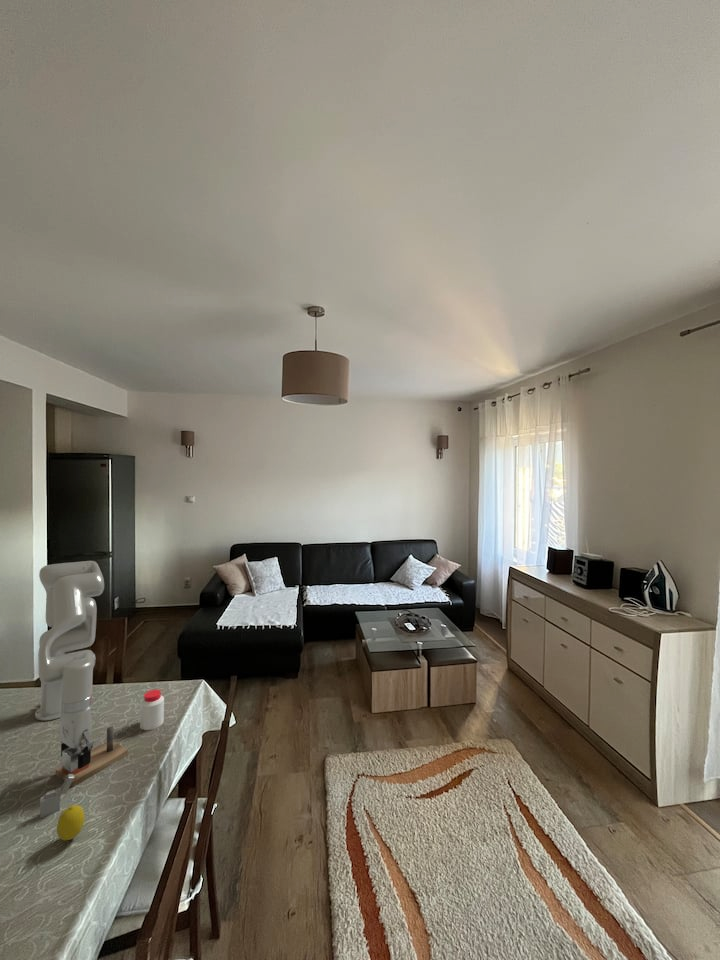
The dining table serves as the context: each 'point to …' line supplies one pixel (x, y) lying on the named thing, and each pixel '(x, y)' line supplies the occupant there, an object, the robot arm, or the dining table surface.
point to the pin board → (98, 759)
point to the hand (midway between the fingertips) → (75, 759)
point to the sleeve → (71, 761)
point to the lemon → (70, 822)
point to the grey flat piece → (54, 798)
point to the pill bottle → (152, 710)
